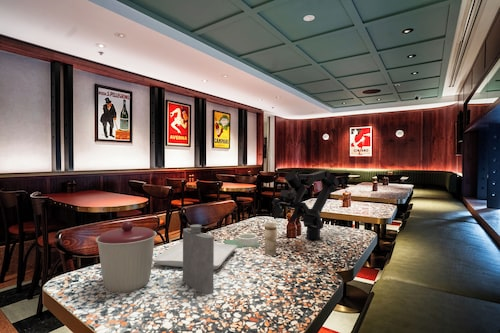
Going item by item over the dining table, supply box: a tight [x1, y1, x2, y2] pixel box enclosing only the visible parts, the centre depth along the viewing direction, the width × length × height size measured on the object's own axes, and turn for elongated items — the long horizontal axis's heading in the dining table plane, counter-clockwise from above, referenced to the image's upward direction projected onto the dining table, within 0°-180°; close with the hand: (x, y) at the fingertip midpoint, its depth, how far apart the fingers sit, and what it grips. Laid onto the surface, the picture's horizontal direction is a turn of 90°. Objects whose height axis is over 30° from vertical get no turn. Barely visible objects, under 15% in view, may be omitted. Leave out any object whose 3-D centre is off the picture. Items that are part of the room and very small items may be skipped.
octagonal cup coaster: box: [223, 233, 261, 249], centre depth 137 cm, size 18×15×4 cm
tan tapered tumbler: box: [264, 222, 277, 256], centre depth 123 cm, size 5×5×13 cm
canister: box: [94, 220, 157, 294], centre depth 90 cm, size 18×18×21 cm
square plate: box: [152, 241, 238, 270], centre depth 115 cm, size 27×27×4 cm
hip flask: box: [182, 224, 215, 295], centre depth 90 cm, size 16×4×20 cm, turn 42°
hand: (281, 220), depth 128 cm, fingers open, 9 cm apart
